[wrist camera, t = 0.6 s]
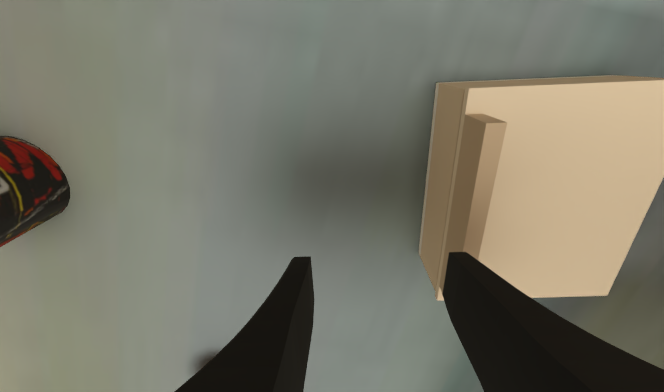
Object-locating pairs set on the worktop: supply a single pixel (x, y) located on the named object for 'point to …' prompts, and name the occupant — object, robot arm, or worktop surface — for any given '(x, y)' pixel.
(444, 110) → the base
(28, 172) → the deodorant
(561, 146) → the lid
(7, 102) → the worktop surface
